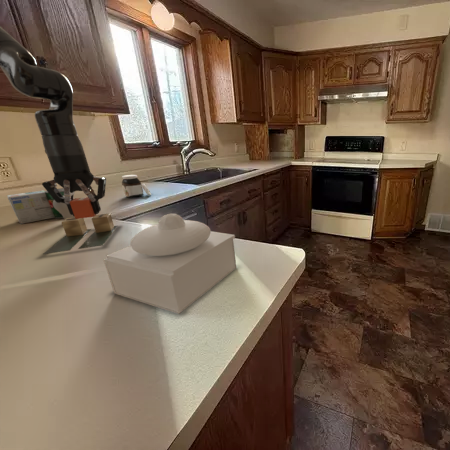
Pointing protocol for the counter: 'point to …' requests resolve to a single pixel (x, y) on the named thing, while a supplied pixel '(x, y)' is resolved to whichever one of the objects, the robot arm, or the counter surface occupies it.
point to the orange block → (82, 208)
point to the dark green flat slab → (71, 241)
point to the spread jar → (133, 186)
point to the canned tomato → (50, 200)
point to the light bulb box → (31, 206)
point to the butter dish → (171, 263)
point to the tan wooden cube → (74, 226)
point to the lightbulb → (62, 209)
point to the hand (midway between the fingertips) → (86, 214)
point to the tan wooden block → (103, 223)
